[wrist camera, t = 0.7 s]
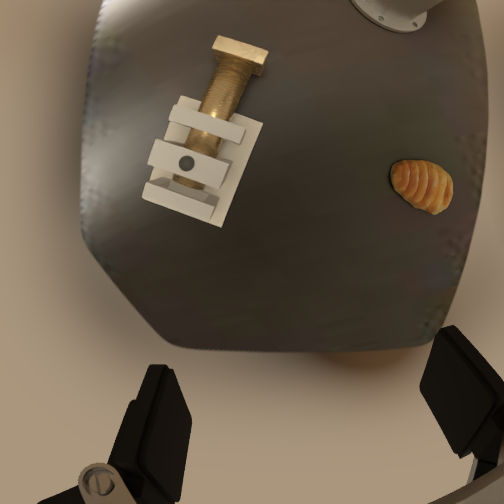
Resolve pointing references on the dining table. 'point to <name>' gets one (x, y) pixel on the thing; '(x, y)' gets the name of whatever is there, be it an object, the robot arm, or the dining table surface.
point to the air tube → (223, 94)
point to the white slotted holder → (200, 163)
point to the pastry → (422, 184)
